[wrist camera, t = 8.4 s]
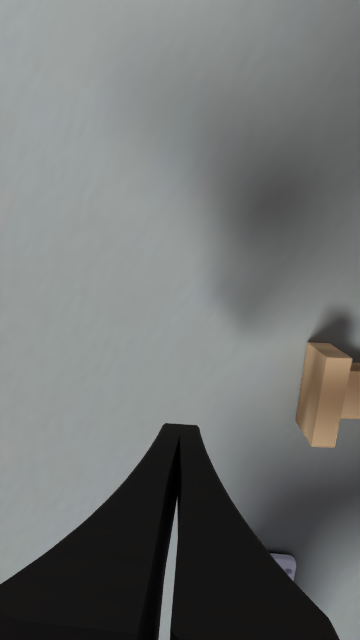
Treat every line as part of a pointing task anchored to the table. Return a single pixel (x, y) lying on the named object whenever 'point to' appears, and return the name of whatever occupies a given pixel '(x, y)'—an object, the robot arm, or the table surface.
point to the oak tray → (327, 393)
